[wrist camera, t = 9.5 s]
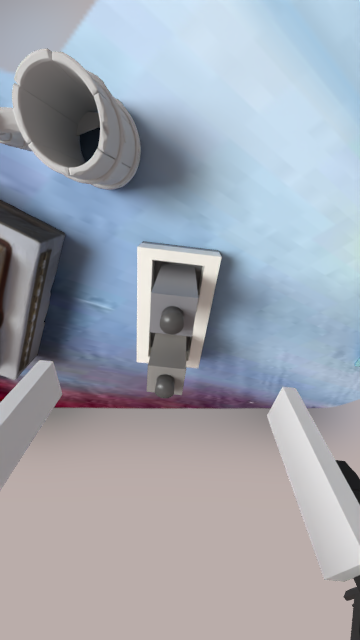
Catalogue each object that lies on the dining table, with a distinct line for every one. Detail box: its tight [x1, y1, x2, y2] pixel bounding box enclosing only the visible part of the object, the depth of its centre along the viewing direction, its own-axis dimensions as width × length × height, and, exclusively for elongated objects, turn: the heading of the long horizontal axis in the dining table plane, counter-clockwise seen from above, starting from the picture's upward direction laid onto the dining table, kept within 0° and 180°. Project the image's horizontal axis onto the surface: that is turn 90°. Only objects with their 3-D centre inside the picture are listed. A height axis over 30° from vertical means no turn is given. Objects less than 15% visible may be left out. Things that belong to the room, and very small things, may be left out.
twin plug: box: [147, 333, 186, 398], centre depth 28 cm, size 4×4×12 cm
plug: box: [149, 263, 198, 337], centre depth 24 cm, size 4×4×12 cm
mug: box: [0, 49, 141, 190], centre depth 17 cm, size 8×12×12 cm, turn 88°
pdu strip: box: [137, 241, 222, 368], centre depth 30 cm, size 10×18×4 cm, turn 174°
